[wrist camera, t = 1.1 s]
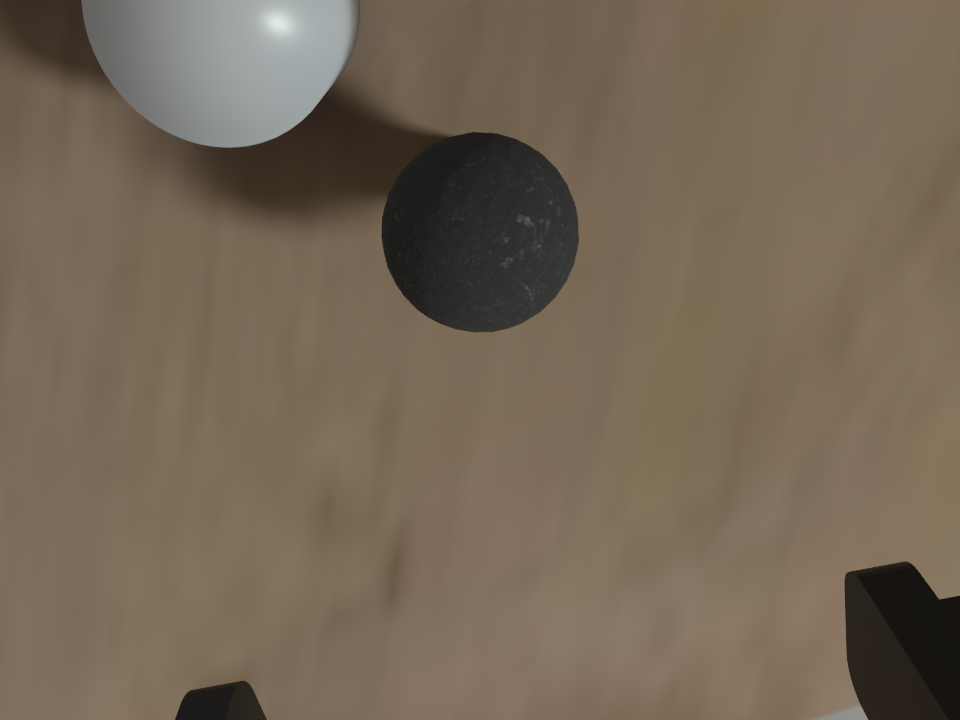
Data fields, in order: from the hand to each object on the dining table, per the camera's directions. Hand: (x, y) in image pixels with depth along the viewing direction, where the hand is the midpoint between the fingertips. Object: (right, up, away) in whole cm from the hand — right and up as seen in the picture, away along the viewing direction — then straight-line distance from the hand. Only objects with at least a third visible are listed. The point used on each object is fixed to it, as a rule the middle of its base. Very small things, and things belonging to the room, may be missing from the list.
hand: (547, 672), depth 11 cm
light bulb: (-1, +11, +20) cm, 23 cm away
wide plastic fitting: (-8, +16, +17) cm, 25 cm away
